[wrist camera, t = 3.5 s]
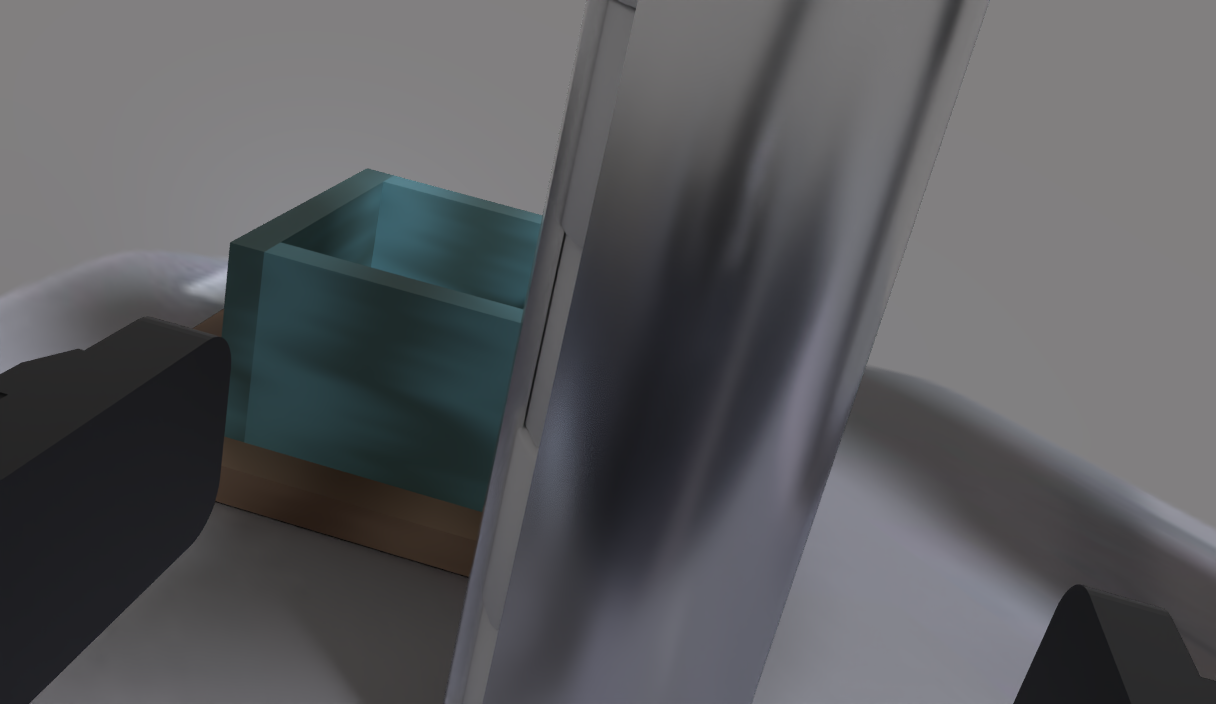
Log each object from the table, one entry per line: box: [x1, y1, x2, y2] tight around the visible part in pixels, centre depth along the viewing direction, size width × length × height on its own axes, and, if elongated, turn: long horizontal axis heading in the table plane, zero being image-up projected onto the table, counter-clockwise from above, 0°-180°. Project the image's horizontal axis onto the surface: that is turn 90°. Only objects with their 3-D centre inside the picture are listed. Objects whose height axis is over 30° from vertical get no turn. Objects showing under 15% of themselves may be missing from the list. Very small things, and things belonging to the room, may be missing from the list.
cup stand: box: [193, 169, 542, 577], centre depth 37 cm, size 18×13×7 cm
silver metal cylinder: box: [443, 0, 990, 704], centre depth 21 cm, size 6×6×25 cm
